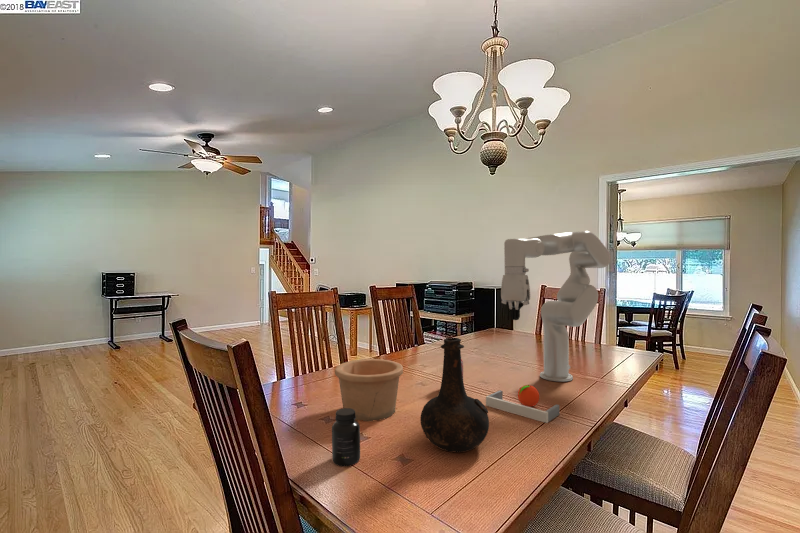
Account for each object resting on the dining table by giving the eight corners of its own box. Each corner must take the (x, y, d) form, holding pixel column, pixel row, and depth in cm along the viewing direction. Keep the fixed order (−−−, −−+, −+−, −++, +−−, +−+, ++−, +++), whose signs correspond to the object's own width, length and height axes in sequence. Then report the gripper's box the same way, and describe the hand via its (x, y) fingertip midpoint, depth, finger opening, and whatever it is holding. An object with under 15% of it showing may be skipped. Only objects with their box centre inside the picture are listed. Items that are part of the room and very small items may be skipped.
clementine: (527, 412, 128) (527, 390, 128) (511, 405, 134) (510, 384, 134) (544, 407, 132) (544, 385, 132) (527, 401, 138) (527, 380, 138)
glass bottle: (490, 464, 96) (490, 347, 95) (416, 458, 99) (415, 344, 99) (487, 432, 113) (487, 333, 113) (424, 428, 117) (423, 331, 116)
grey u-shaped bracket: (500, 398, 141) (499, 390, 141) (559, 414, 126) (559, 405, 126) (485, 405, 134) (485, 396, 134) (546, 423, 119) (546, 413, 119)
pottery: (411, 403, 137) (411, 361, 137) (389, 429, 116) (388, 379, 116) (354, 396, 144) (353, 356, 144) (322, 420, 123) (322, 373, 123)
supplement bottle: (333, 454, 101) (332, 406, 101) (360, 452, 102) (360, 405, 102) (330, 468, 95) (330, 417, 94) (360, 466, 95) (359, 416, 95)
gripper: (538, 271, 150) (538, 320, 151) (501, 270, 160) (501, 316, 160) (529, 271, 145) (530, 322, 145) (492, 271, 154) (492, 319, 155)
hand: (515, 319), depth 153 cm, fingers closed
